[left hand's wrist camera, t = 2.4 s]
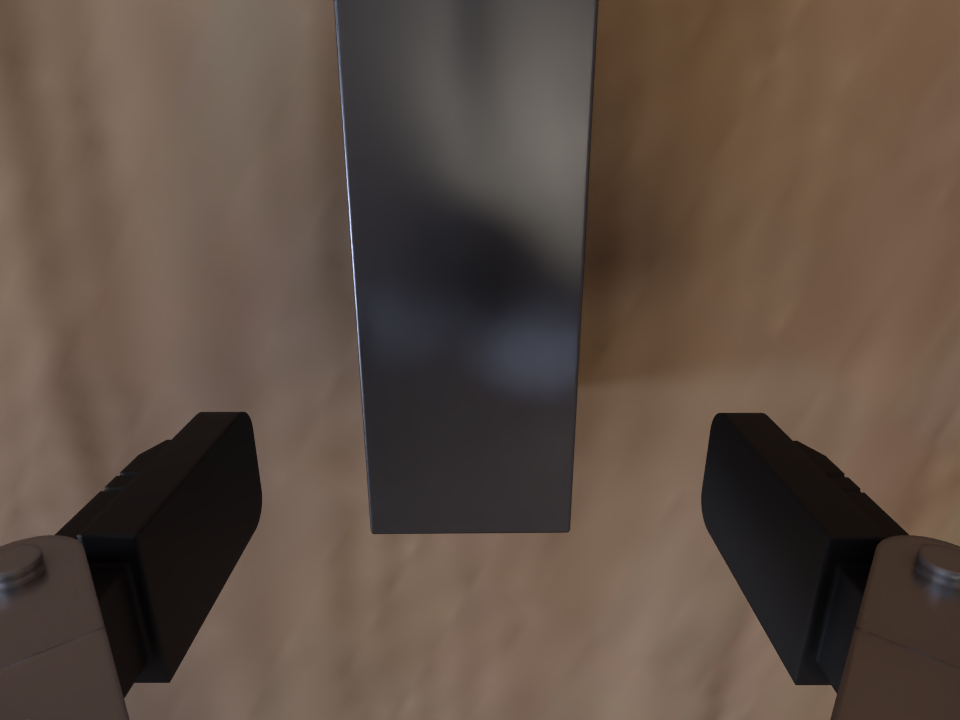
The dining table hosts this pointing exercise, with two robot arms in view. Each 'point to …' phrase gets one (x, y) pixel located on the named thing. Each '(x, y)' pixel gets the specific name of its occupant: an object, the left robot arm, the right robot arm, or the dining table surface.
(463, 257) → the bar
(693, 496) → the dining table surface
